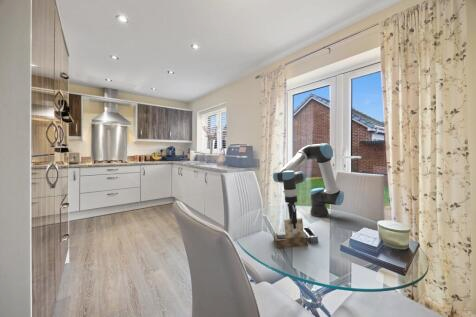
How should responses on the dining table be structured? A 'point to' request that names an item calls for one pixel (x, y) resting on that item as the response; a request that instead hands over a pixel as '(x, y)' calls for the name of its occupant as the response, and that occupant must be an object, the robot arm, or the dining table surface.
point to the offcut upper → (280, 234)
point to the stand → (313, 237)
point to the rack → (290, 242)
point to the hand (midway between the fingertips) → (294, 232)
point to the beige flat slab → (289, 228)
